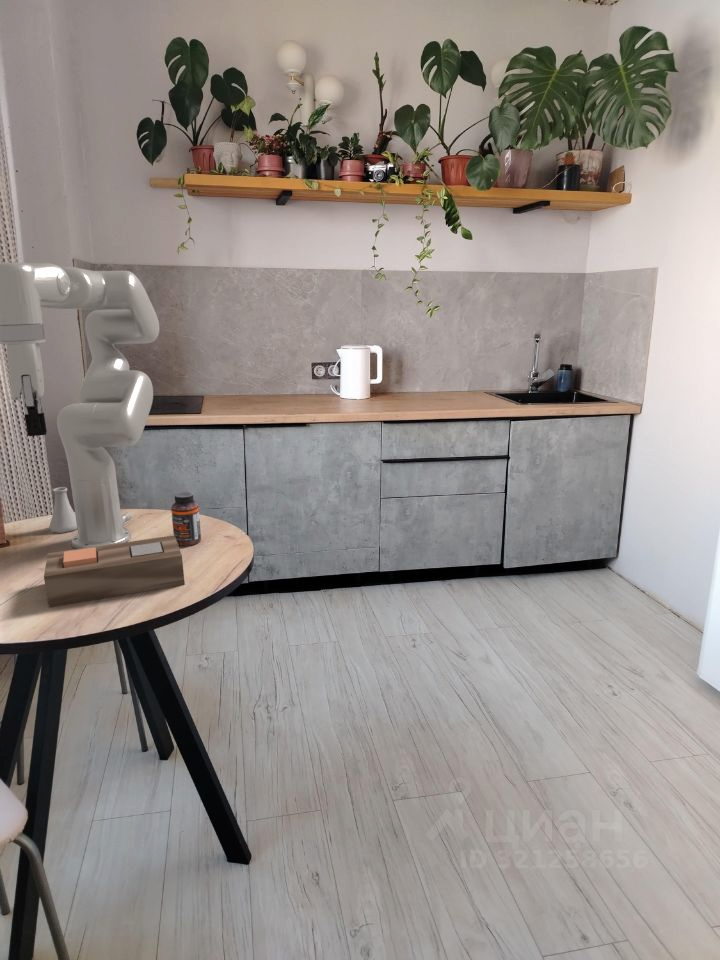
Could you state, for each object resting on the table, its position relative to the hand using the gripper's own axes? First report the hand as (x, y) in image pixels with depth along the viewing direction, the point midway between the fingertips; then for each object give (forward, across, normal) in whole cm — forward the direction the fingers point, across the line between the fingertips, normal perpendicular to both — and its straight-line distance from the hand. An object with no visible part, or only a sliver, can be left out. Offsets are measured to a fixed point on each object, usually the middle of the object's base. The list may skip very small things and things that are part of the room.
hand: (37, 434), depth 125 cm
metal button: (+28, +7, +17) cm, 33 cm away
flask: (+29, -32, 0) cm, 43 cm away
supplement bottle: (+29, -10, +26) cm, 41 cm away
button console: (+29, +8, +11) cm, 32 cm away
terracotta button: (+27, +8, +5) cm, 28 cm away
